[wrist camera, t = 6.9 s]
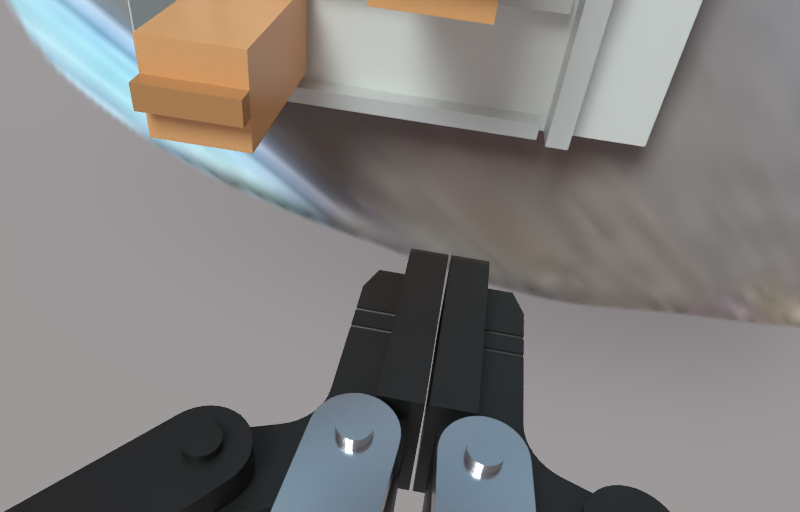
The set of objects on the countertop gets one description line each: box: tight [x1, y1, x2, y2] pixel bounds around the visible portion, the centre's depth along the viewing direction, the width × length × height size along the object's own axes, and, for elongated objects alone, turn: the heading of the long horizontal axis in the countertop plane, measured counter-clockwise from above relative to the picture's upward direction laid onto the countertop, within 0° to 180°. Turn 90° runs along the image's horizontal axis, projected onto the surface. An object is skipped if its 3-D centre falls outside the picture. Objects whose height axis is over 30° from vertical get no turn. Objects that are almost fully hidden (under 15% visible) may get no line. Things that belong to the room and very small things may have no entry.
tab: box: [129, 0, 307, 153], centre depth 19 cm, size 3×3×7 cm
